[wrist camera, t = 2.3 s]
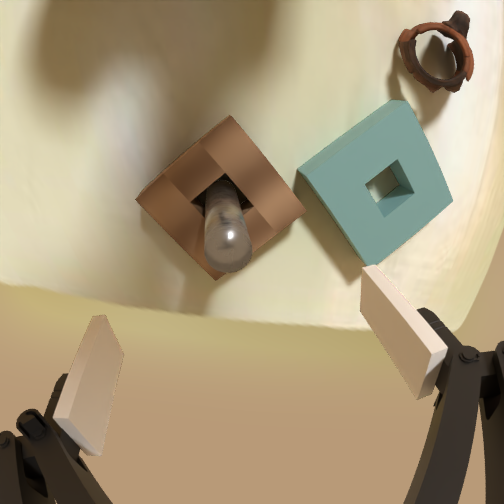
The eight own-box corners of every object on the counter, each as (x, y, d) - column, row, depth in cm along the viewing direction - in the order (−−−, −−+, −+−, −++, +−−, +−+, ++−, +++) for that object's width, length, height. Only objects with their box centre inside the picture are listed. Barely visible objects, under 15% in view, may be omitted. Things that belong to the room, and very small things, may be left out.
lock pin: (199, 193, 34) (194, 249, 21) (223, 173, 33) (231, 219, 21) (219, 214, 35) (225, 281, 22) (242, 196, 34) (262, 253, 22)
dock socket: (297, 169, 34) (306, 176, 31) (390, 99, 31) (407, 100, 28) (358, 256, 40) (369, 270, 36) (437, 192, 37) (453, 201, 34)
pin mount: (142, 190, 33) (135, 199, 30) (229, 114, 30) (231, 115, 27) (215, 265, 38) (215, 280, 34) (298, 200, 35) (307, 211, 32)
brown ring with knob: (449, 105, 32) (463, 110, 26) (386, 69, 34) (386, 66, 27) (480, 33, 25) (499, 24, 19) (416, -3, 27) (421, -21, 20)
